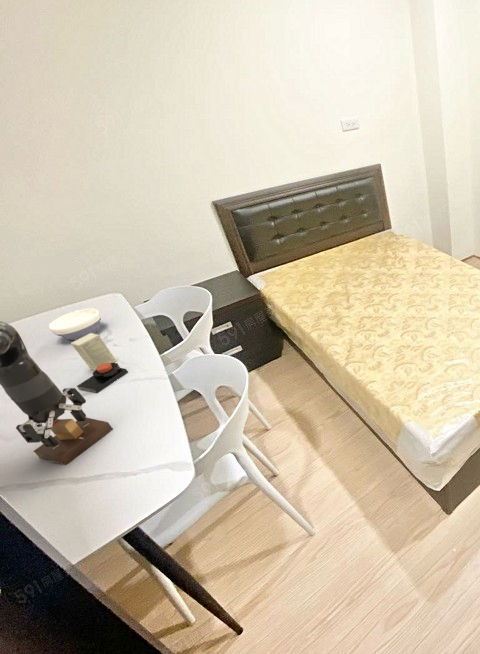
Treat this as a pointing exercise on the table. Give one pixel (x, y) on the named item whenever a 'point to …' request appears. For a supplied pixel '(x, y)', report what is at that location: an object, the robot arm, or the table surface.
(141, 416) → the table surface
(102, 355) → the cosmetic box
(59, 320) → the bowl
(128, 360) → the table surface
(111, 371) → the button box
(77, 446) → the panel
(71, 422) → the tan wooden block
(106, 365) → the button
